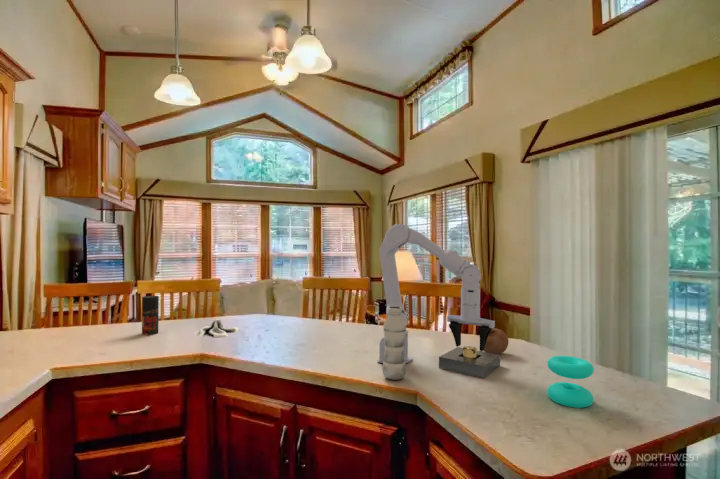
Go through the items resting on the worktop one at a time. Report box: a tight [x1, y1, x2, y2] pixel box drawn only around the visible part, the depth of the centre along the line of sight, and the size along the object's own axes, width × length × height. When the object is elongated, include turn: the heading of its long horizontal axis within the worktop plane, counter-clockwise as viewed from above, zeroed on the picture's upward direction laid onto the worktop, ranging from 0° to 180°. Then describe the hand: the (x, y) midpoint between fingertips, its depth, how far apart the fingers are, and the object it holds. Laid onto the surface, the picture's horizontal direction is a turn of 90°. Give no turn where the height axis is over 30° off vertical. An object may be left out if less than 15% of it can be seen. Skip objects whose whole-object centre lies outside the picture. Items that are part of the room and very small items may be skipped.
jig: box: [438, 346, 501, 379], centre depth 120 cm, size 14×14×4 cm
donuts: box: [546, 355, 595, 409], centre depth 96 cm, size 10×10×10 cm
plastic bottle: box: [381, 306, 407, 380], centre depth 110 cm, size 6×7×20 cm
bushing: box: [462, 345, 478, 360], centre depth 120 cm, size 4×4×6 cm
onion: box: [482, 327, 509, 355], centre depth 135 cm, size 10×9×10 cm
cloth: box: [194, 318, 239, 338], centre depth 161 cm, size 22×19×6 cm
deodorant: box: [141, 295, 160, 336], centre depth 160 cm, size 6×6×15 cm
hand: (470, 347), depth 120 cm, fingers open, 7 cm apart
